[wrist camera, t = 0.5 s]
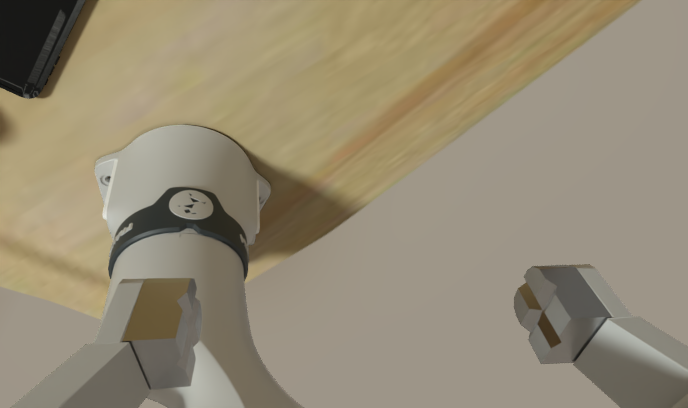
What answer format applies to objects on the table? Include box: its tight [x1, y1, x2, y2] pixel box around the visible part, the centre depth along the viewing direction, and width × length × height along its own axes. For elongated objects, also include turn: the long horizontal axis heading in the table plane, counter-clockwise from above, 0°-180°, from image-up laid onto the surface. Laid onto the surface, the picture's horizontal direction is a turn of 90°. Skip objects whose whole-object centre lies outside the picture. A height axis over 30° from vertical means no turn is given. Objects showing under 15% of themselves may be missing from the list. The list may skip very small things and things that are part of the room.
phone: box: [0, 0, 86, 99], centre depth 33 cm, size 8×1×15 cm
